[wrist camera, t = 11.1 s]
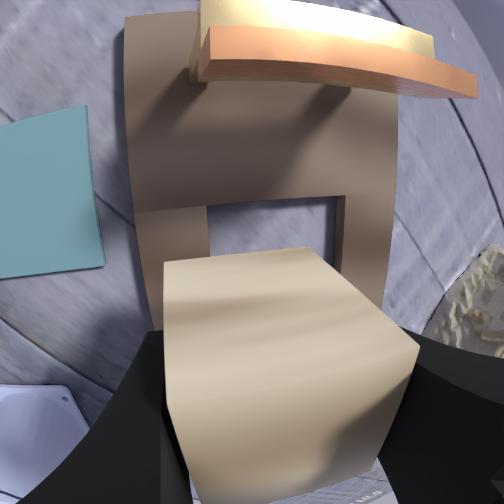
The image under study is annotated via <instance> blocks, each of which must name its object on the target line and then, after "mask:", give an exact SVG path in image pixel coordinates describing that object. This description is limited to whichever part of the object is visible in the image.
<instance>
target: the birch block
mask: <svg viewBox="0 0 504 504" xmlns="http://www.w3.org/2000/svg"><path fill="white" fill-rule="evenodd" d="M163 308H164V356H165V379H166V397H167V406H168V409H169V413H170V416H171V419H172V423H173V426H174V429H175V432H176V435H177V438H178V441H179V444H180V447H181V450H182V453H183V456H184V459H185V462H186V465H187V468H188V470H189V473H190V476H191V479H192V481H193V484H194V487H195V489H196V492H197V494H198V497H199V499H200V502H201V504H265V503H269V502H273V501H278V500H282V499H286V498H289V497H293V496H297V495H300V494H304V493H307V492H311V491H314V490H317V489H320V488H323V487H326V486H329V485H332V484H335V483H338V482H341V481H344V480H346V479H349V478H352V477H354V476H357V475H360V474H362V473H365V472H367V471H370V470H371V468H372V466H373V464H374V462H375V460H376V458H377V456H378V454H379V451H380V449H381V447H382V445H383V443H384V441H385V439H386V436H387V434H388V432H389V430H390V427H391V425H392V423H393V420H394V418H395V416H396V413H397V411H398V408H399V406H400V403H401V401H402V398H403V396H404V393H405V390H406V388H407V385H408V382H409V379H410V376H411V374H412V371H413V368H414V365H415V362H416V359H417V356H418V353H419V349H420V346H419V345H418V344H417V343H416V342H415V341H414V340H413V339H412V338H411V337H410V336H409V335H408V334H406V333H405V332H404V331H403V330H402V329H401V328H400V327H399V326H398V325H397V324H396V323H394V322H393V321H392V320H391V319H390V318H389V317H388V316H387V315H386V314H384V313H383V312H382V311H381V310H380V309H379V308H378V307H377V306H376V305H374V304H373V303H372V302H371V301H370V300H369V299H368V298H367V297H365V296H364V295H363V294H362V293H361V292H360V291H359V290H358V289H356V288H355V287H354V286H353V285H352V284H351V283H350V282H348V281H347V280H346V279H345V278H344V277H343V276H342V275H340V274H339V273H338V272H337V271H336V270H335V269H333V268H332V267H331V266H330V265H329V264H328V263H326V262H325V261H324V260H323V259H322V258H321V257H319V256H318V255H317V254H316V253H315V252H314V251H312V250H311V249H310V248H309V247H308V246H304V247H295V248H286V249H277V250H268V251H259V252H250V253H241V254H231V255H222V256H213V257H204V258H195V259H186V260H177V261H168V262H164V290H163Z"/></svg>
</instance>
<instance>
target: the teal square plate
mask: <svg viewBox="0 0 504 504" xmlns="http://www.w3.org/2000/svg"><path fill="white" fill-rule="evenodd" d="M105 265H106V259H105V254H104V249H103V243H102V238H101V232H100V226H99V220H98V213H97V207H96V199H95V192H94V184H93V175H92V166H91V156H90V144H89V130H88V111H87V105H82V106H77V107H72V108H68V109H63V110H59V111H54V112H50V113H46V114H42V115H38V116H34V117H31V118H27V119H23V120H20V121H16V122H13V123H10V124H6V125H3V126H0V279H1V278H9V277H17V276H25V275H33V274H42V273H50V272H58V271H66V270H74V269H83V268H91V267H99V266H105Z"/></svg>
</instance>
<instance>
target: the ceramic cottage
mask: <svg viewBox="0 0 504 504" xmlns="http://www.w3.org/2000/svg"><path fill="white" fill-rule="evenodd" d="M480 254H481V256H480V257H477V258H476V259H475V260H474V261H473V262H472V263H471V264H470V266H469V268H467V269H466V271H464V274H461V275H460V276H459V279H458V280H455V282H454V283H453V284H452V286H451V287H450V288H449V290H448V291H447V293H446V294H445V296H444V297H443V299H442V301H441V303H440V304H439V305H438V307H437V308H436V309H435V313H434V315H433V316H432V319H431V320H430V321H429V322H428V325H427V326H426V327H425V329H424V331H423V333H422V335H421V336H424V337H427V338H429V339H432V340H434V341H437V342H440V343H443V344H446V345H449V346H452V347H456V348H459V349H463V350H466V351H470V352H474V353H478V354H483V355H488V356H494V357H499V358H504V250H503V248H502V247H501V246H500V245H498V244H497V243H492V244H489V246H487V247H486V248H485V249H484V251H482V252H481V253H480Z"/></svg>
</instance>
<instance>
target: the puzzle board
mask: <svg viewBox="0 0 504 504" xmlns="http://www.w3.org/2000/svg"><path fill="white" fill-rule="evenodd" d="M196 33H197V11H184V12H169V13H157V14H147V15H139V16H131V17H125V22H124V105H125V126H126V142H127V155H128V166H129V177H130V187H131V196H132V204H133V212H134V220H135V227H136V234H137V241H138V247H139V254H140V260H141V266H142V271H143V277H144V283H145V288H146V293H147V298H148V303H149V308H150V313H151V318H152V322H153V327H154V331H158V330H164V308H163V290H164V262H168V261H177V260H186V259H195V258H204V257H210V247H209V234H208V221H207V207H206V206H207V205H217V204H228V203H239V202H251V201H263V200H276V199H290V198H305V197H321V196H337V201H336V225H335V244H334V260H333V269H335V270H336V271H337V272H338V273H339V274H340V275H342V276H343V277H344V278H345V279H346V280H347V281H348V282H350V283H351V284H352V285H353V286H354V287H355V288H356V289H358V290H359V291H360V292H361V293H362V294H363V295H364V296H365V297H367V298H368V299H369V300H370V301H371V302H372V303H373V304H374V305H376V306H377V307H378V308H379V309H380V310H381V307H382V301H383V295H384V289H385V283H386V276H387V269H388V262H389V254H390V246H391V237H392V228H393V218H394V206H395V193H396V176H397V150H398V99H397V94H394V93H388V92H382V91H376V90H369V89H362V88H352V87H343V86H337V85H327V84H316V83H302V82H283V81H212V82H196V83H189V59H190V55H191V51H192V47H193V44H194V40H195V36H196Z"/></svg>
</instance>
